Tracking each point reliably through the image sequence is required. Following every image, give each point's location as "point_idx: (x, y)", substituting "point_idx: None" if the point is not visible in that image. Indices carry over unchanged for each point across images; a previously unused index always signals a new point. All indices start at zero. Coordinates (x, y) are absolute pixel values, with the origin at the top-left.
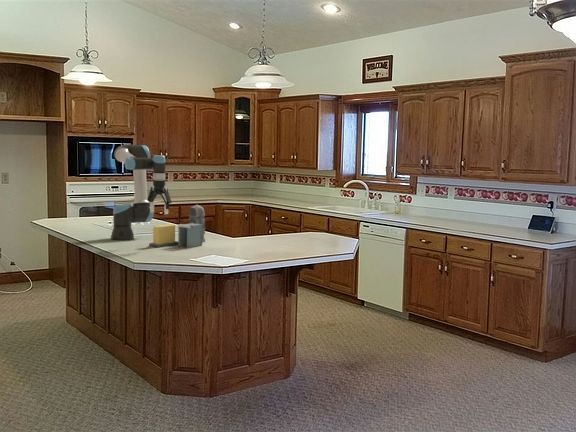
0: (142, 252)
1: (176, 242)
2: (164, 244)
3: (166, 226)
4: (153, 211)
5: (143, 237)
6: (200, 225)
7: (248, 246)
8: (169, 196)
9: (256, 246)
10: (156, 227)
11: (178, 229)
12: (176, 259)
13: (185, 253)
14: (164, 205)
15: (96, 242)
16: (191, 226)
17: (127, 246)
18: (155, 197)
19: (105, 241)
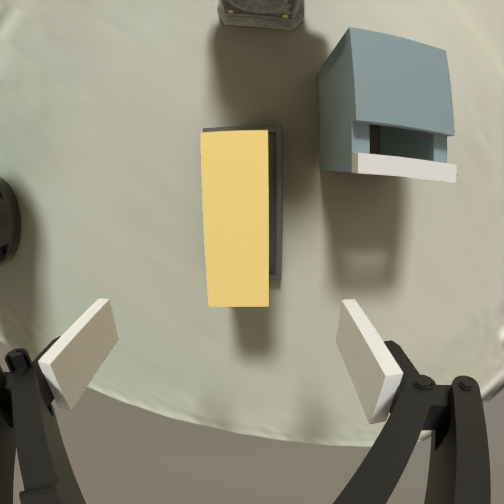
0: (320, 382)
1: (281, 146)
2: (281, 236)
3: (268, 226)
4: (107, 311)
5: (10, 134)
6: (444, 66)
7: (492, 23)
8: (486, 462)
9: (501, 15)
10: (246, 304)
11: (345, 171)
12: (473, 366)
13: (457, 288)
14: (366, 410)
15: (29, 337)
16: (436, 133)
17: (155, 338)
18: (44, 429)
19: (20, 306)
